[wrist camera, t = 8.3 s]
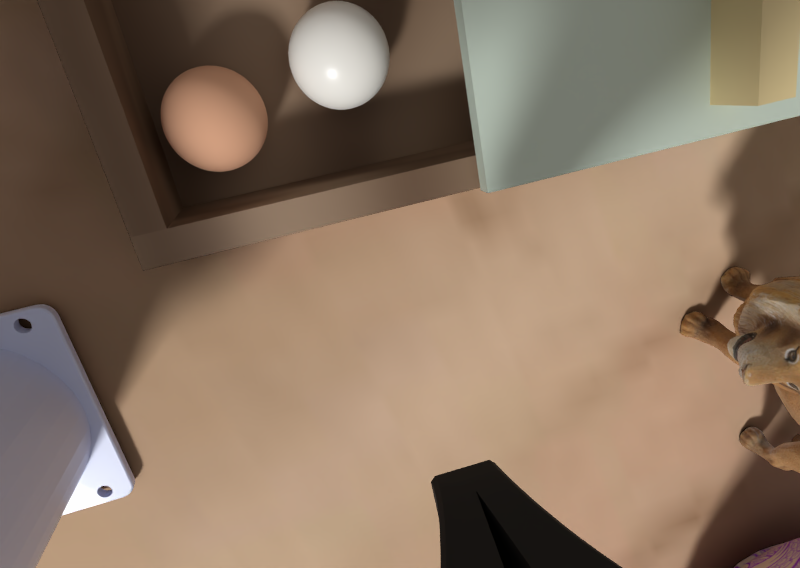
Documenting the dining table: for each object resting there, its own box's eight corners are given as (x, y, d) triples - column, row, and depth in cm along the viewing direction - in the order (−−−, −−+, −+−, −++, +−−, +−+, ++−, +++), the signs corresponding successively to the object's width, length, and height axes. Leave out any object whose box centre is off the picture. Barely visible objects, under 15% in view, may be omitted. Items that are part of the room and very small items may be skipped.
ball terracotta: (188, 174, 18) (173, 189, 15) (156, 78, 17) (133, 75, 14) (278, 154, 18) (280, 164, 16) (253, 59, 17) (249, 52, 14)
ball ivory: (300, 117, 18) (305, 121, 15) (275, 18, 17) (276, 3, 14) (388, 98, 18) (408, 99, 16) (369, 0, 17) (387, -18, 15)
